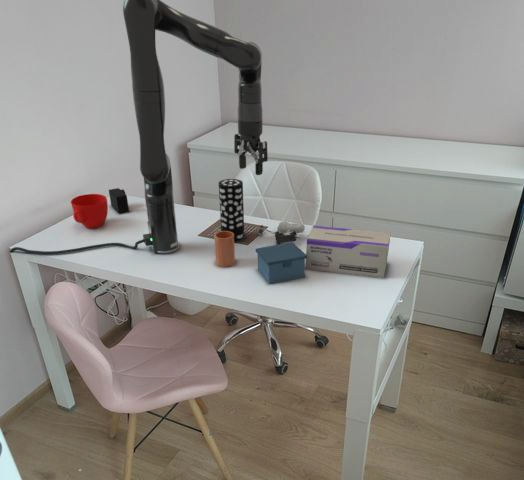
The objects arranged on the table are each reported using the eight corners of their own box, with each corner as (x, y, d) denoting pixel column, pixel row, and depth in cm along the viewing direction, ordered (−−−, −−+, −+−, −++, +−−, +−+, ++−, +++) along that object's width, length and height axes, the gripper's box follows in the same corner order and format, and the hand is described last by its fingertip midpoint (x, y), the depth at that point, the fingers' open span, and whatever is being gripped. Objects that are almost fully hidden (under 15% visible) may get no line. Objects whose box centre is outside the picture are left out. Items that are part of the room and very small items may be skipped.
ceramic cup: (63, 233, 201) (57, 207, 195) (88, 217, 214) (83, 192, 208) (94, 237, 198) (88, 211, 192) (117, 220, 211) (113, 195, 205)
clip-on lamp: (251, 247, 196) (295, 246, 187) (247, 231, 193) (291, 229, 184) (266, 232, 204) (309, 231, 195) (262, 217, 201) (305, 214, 191)
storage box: (268, 284, 167) (268, 262, 162) (255, 269, 175) (255, 248, 171) (306, 277, 170) (307, 255, 166) (292, 263, 179) (292, 242, 174)
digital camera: (132, 211, 219) (129, 194, 215) (119, 214, 216) (116, 196, 212) (124, 203, 226) (121, 187, 222) (111, 206, 224) (108, 189, 220)
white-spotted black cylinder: (243, 242, 193) (242, 186, 181) (220, 242, 193) (217, 186, 182) (244, 232, 200) (243, 178, 188) (222, 232, 200) (219, 178, 188)
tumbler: (219, 268, 176) (217, 239, 170) (213, 260, 181) (211, 232, 175) (237, 265, 178) (236, 236, 172) (231, 257, 183) (230, 229, 177)
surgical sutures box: (305, 268, 175) (306, 238, 169) (312, 255, 184) (313, 225, 177) (383, 278, 169) (387, 246, 163) (386, 263, 178) (390, 233, 172)
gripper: (226, 115, 167) (228, 168, 176) (254, 123, 158) (255, 179, 167) (246, 112, 171) (246, 164, 180) (274, 120, 161) (273, 174, 171)
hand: (250, 171), depth 173 cm, fingers open, 8 cm apart
